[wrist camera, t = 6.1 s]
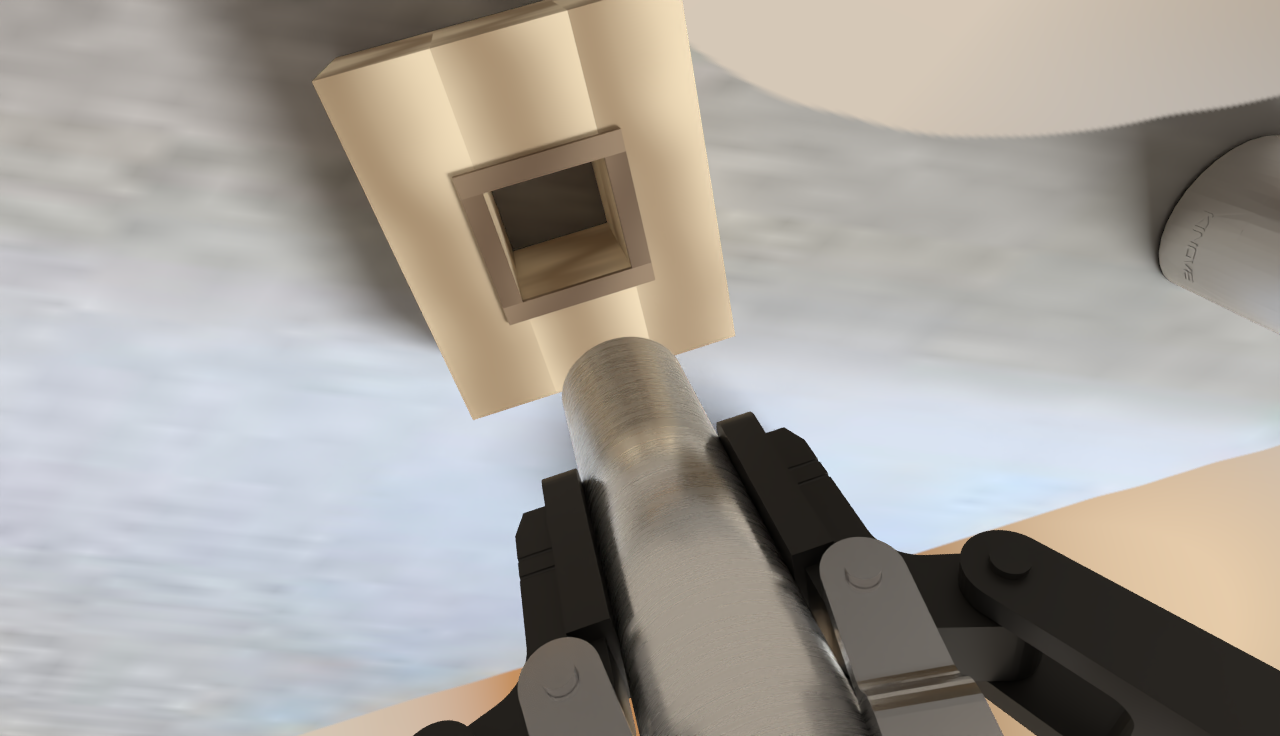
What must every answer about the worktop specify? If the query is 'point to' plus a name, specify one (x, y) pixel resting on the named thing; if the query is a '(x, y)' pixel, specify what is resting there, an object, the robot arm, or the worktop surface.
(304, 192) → the worktop surface
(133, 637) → the worktop surface
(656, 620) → the steel pin
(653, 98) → the wooden peg hole block
